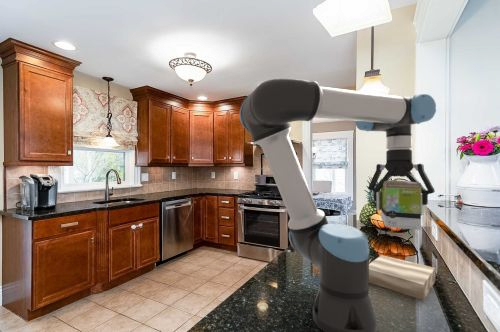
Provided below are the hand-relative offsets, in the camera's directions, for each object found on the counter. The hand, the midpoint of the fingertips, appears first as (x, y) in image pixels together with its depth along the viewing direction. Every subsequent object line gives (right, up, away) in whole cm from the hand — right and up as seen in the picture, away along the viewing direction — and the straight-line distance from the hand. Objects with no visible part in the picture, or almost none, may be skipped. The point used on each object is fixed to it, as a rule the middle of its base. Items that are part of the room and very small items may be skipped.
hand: (399, 212), depth 84 cm
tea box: (0, -4, 0) cm, 4 cm away
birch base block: (0, -24, 0) cm, 24 cm away
